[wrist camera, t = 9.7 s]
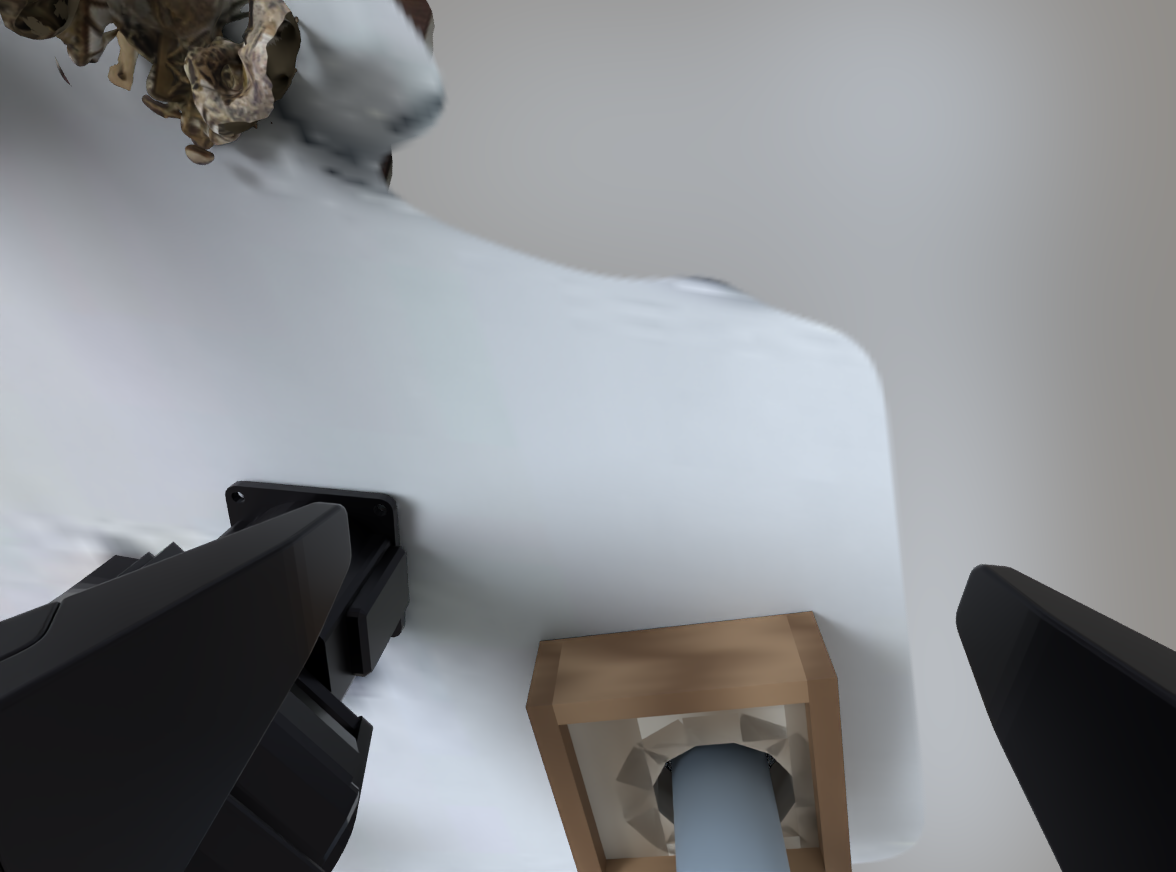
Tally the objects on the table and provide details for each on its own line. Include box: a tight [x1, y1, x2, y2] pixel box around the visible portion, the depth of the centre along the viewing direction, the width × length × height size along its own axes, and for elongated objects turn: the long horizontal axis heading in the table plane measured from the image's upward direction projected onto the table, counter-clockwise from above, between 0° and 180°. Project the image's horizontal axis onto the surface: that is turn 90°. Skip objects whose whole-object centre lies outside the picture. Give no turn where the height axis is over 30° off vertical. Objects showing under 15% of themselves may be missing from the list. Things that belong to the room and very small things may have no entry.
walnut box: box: [526, 611, 852, 872], centre depth 26 cm, size 11×11×4 cm
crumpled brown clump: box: [0, 0, 435, 188], centre depth 18 cm, size 12×6×11 cm
